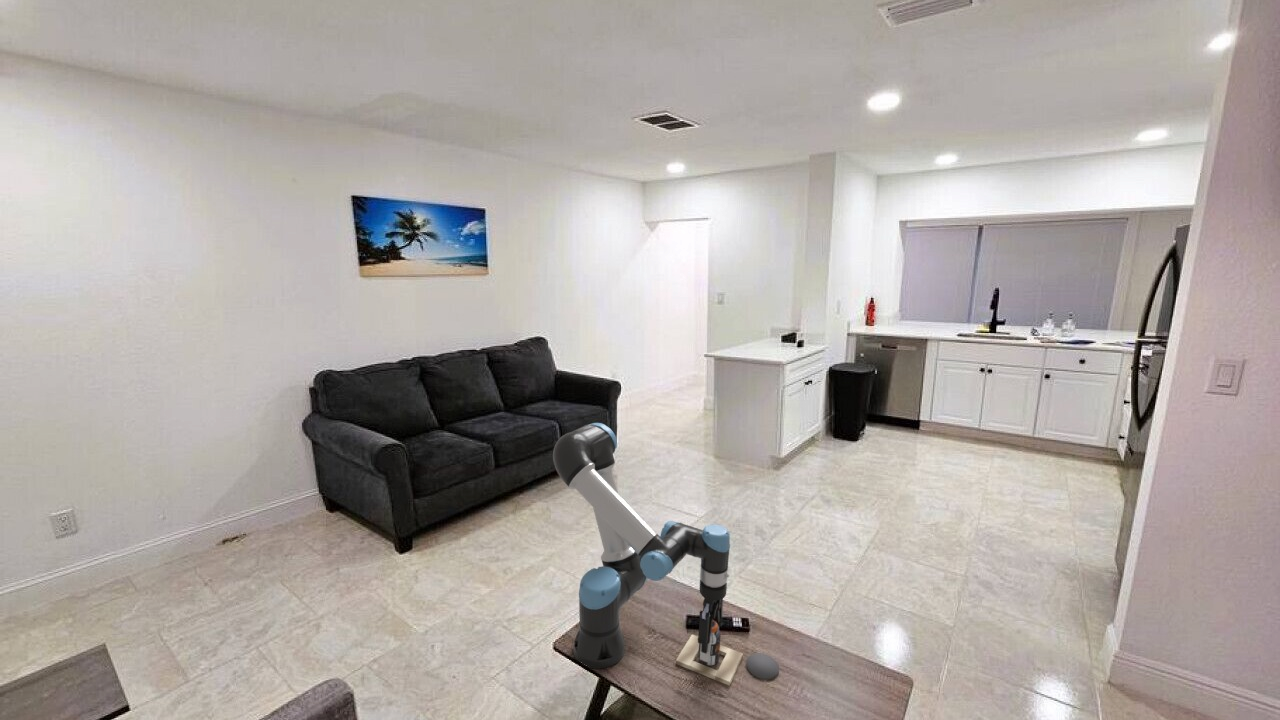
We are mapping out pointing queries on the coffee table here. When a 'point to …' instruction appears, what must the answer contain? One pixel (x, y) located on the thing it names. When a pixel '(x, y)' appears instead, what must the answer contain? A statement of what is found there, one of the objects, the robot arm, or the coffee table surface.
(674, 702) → the coffee table surface
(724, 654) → the socket board
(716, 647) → the pill bottle
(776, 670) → the grey river stone
